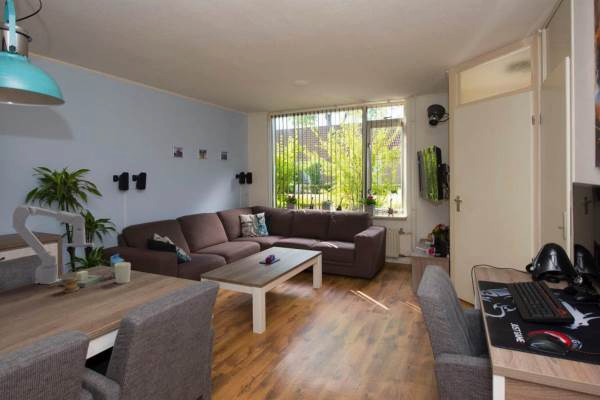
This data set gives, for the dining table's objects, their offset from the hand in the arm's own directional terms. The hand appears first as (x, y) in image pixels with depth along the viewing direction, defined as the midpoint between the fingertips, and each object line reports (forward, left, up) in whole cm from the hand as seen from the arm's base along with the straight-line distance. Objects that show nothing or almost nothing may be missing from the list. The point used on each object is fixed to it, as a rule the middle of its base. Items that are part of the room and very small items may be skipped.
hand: (80, 259), depth 196 cm
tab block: (+8, -8, -11) cm, 15 cm away
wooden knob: (+12, -20, -10) cm, 26 cm away
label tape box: (+18, +8, -11) cm, 22 cm away
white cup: (+28, -2, -11) cm, 30 cm away
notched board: (+8, -7, -10) cm, 15 cm away
